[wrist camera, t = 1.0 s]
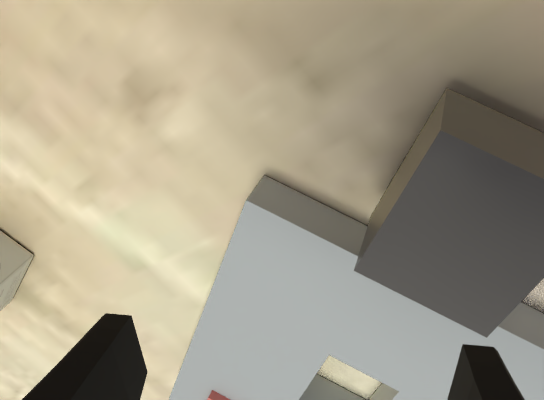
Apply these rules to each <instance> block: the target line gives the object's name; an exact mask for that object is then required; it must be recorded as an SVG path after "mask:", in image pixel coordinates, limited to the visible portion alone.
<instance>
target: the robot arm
mask: <svg viewBox="0 0 544 400" xmlns="http://www.w3.org/2000/svg"><path fill="white" fill-rule="evenodd" d="M146 375H147V369H146V365H145V362H144V358H143V355H142V351H141V348H140V344H139V341H138V337H137V334H136V330H135V327H134V323H133V320H132V316H129V315H118V314H105V315H104V316H102V317H101V319H100V320H99V321H98V322H97V323H96V324H95V325H94V326H93V327H92V328H91V329H90V330H89V331H88V332H87V333H86V334H85V335H84V337H83V338H82V339H81V340H80V341H79V342H78V343H77V344H76V345H75V346H74V347H73V348H72V349H71V350H70V351H69V352H68V353H67V354H66V356H65V357H64V358H63V359H62V360H61V361H60V362H59V363H58V364H57V365H56V366H55V367H54V368H53V369H52V370H51V371H50V372H49V373H48V374H47V375H46V376H45V377H44V378H43V379H42V380H41V381H40V382H39V383H38V384H37V385H36V386H35V387H34V388H33V389H32V390H31V391H30V392H29V393H28V394H27V395H26V396H25V397H24V398H23V399H22V400H140V398H141V394H142V390H143V387H144V383H145V379H146ZM447 400H525V399H524V398H523V396H522V394H521V392H520V391H519V389H518V387H517V386H516V384H515V382H514V380H513V378H512V377H511V375H510V373H509V371H508V369H507V368H506V366H505V364H504V362H503V360H502V358H501V356H500V354H499V353H498V351H497V350H496V349H495V348H494V347H491V346H479V345H467V344H463V345H462V348H461V352H460V355H459V359H458V363H457V366H456V370H455V374H454V377H453V381H452V384H451V388H450V392H449V395H448V399H447Z"/></svg>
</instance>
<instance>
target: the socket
mask: <svg viewBox="0 0 544 400" xmlns="http://www.w3.org/2000/svg"><path fill="white" fill-rule="evenodd" d="M367 227H368V226H366V225H364V224H362V223H360V222H358V221H356V220H354V219H352V218H350V217H348V216H346V215H344V214H342V213H340V212H338V211H336V210H334V209H332V208H330V207H328V206H326V205H324V204H322V203H320V202H318V201H316V200H313V199H311V198H309V197H307V196H305V195H303V194H301V193H299V192H297V191H295V190H293V189H291V188H289V187H287V186H285V185H283V184H281V183H279V182H277V181H275V180H273V179H271V178H269V177H267V176H265V175H264V176H263V178H262V179H261V180H260V182H259V183H258V185H257V186H256V187H255V189H254V190H253V191H252V193H251V194H250V196H249V197H248V198H247V200H246V202H245V204H244V207H243V209H242V212H241V215H240V217H239V220H238V222H237V225H236V227H235V230H234V233H233V235H232V238H231V240H230V243H229V245H228V248H227V251H226V253H225V256H224V258H223V261H222V263H221V266H220V269H219V271H218V274H217V276H216V279H215V282H214V284H213V287H212V289H211V292H210V294H209V297H208V300H207V302H206V305H205V307H204V310H203V312H202V315H201V318H200V320H199V323H198V325H197V328H196V330H195V333H194V336H193V338H192V341H191V343H190V346H189V348H188V351H187V354H186V356H185V359H184V361H183V364H182V366H181V369H180V372H179V374H178V377H177V379H176V382H175V384H174V387H173V390H172V392H171V395H170V397H169V400H365V399H363V398H361V397H360V396H358V395H356V394H354V393H352V392H350V391H348V390H346V389H344V388H342V387H340V386H339V385H337V384H335V383H333V382H331V381H329V380H327V379H325V378H323V377H321V376H320V375H318V374H317V372H318V371H319V369H320V368H321V366H322V365H323V363H324V362H325V360H326V359H327V357H328V356H329V355H330V356H332V357H334V358H336V359H338V360H340V361H341V362H343V363H345V364H347V365H349V366H351V367H353V368H355V369H357V370H359V371H361V372H363V373H365V374H366V375H368V376H370V377H372V378H374V379H376V380H378V381H380V382H382V384H381V385H380V386H379V387H378V389H377V390H376V391H375V392H374V393H373V395H372V396H371V397H370V398H369V400H447V399H448V395H449V392H450V388H451V384H452V381H453V377H454V374H455V370H456V366H457V363H458V359H459V355H460V352H461V348H462V345H463V344H467V345H479V346H491V347H494V348H495V349H496V350H497V351H498V353H499V354H500V356H501V358H502V360H503V362H504V364H505V366H506V368H507V369H508V371H509V373H510V375H511V377H512V378H513V380H514V382H515V384H516V386H517V387H518V389H519V391H520V392H521V394H522V396H523V398H524V399H525V400H544V313H542V312H540V311H538V310H536V309H534V308H532V307H530V306H528V305H526V304H524V303H522V302H520V303H519V304H518V305H517V306H516V308H515V309H514V310H513V311H512V312H511V313H510V314H509V315H508V316H507V317H506V318H505V319H504V320H503V321H502V322H501V323H500V324H499V325H498V326H497V328H496V329H495V330H494V331H493V332H492V333H491V334H490V335H489V336H488V337H487V338H486V337H484V336H482V335H480V334H478V333H476V332H474V331H472V330H470V329H468V328H466V327H464V326H462V325H460V324H458V323H456V322H454V321H452V320H450V319H448V318H446V317H444V316H442V315H440V314H438V313H437V312H435V311H433V310H431V309H429V308H427V307H425V306H423V305H421V304H419V303H417V302H415V301H413V300H411V299H409V298H407V297H405V296H403V295H401V294H399V293H397V292H395V291H393V290H391V289H389V288H387V287H385V286H383V285H381V284H379V283H377V282H375V281H373V280H371V279H369V278H367V277H365V276H363V275H361V274H359V273H357V272H355V271H354V268H355V265H356V262H357V259H358V255H359V252H360V249H361V246H362V243H363V240H364V237H365V233H366V230H367Z"/></svg>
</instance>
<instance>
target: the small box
mask: <svg viewBox="0 0 544 400" xmlns="http://www.w3.org/2000/svg"><path fill="white" fill-rule="evenodd" d="M32 258H33V254H32V253H30V252H29V251H27V250H26V249H25V248H23V247H22V246H21V245H19V244H18V243H17V242H15V241H14V240H13V239H11V238H10V237H8V236H7V235H6V234H4V233H3V232H2V231H0V311H1V310H2V309H3V308H4V307H5V306H6V305H7V304H8V303H10V302H11V300H12V299H13V297H14V295H15V293H16V291H17V289H18V287H19V285H20V283H21V280H22V278H23V276H24V275H25V273H26V271H27V268H28V266H29V264H30V262H31V260H32Z"/></svg>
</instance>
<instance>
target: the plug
mask: <svg viewBox="0 0 544 400" xmlns="http://www.w3.org/2000/svg"><path fill="white" fill-rule="evenodd" d="M354 271H355V272H357V273H359V274H361V275H363V276H365V277H367V278H369V279H371V280H373V281H375V282H377V283H379V284H381V285H383V286H385V287H387V288H389V289H391V290H393V291H395V292H397V293H399V294H401V295H403V296H405V297H407V298H409V299H411V300H413V301H415V302H417V303H419V304H421V305H423V306H425V307H427V308H429V309H431V310H433V311H435V312H437V313H438V314H440V315H442V316H444V317H446V318H448V319H450V320H452V321H454V322H456V323H458V324H460V325H462V326H464V327H466V328H468V329H470V330H472V331H474V332H476V333H478V334H480V335H482V336H484V337H486V338H487V337H488V336H489V335H490V334H491V333H492V332H493V331H494V330H495V329H496V328H497V326H498V325H499V324H500V323H501V322H502V321H503V320H504V319H505V318H506V317H507V316H508V315H509V314H510V313H511V312H512V311H513V310H514V309H515V308H516V306H517V305H518V304H519V303H520V302H521V301H522V300H523V299H524V298H525V297H526V296H527V295H528V294H529V293H530V292H531V291H532V290H533V289H534V288H535V287H536V285H537V284H538V283H539V282H540V281H541V280H542V279H543V278H544V133H543V132H541V131H538V130H536V129H534V128H532V127H530V126H528V125H526V124H523V123H521V122H519V121H517V120H515V119H513V118H510V117H508V116H506V115H504V114H502V113H500V112H498V111H495V110H493V109H491V108H489V107H487V106H485V105H482V104H480V103H478V102H476V101H474V100H472V99H470V98H467V97H465V96H463V95H461V94H459V93H457V92H455V91H452V90H450V89H448V88H446V90H445V92H444V93H443V95H442V97H441V98H440V100H439V102H438V103H437V105H436V107H435V108H434V110H433V112H432V114H431V115H430V117H429V119H428V120H427V122H426V124H425V125H424V127H423V129H422V130H421V132H420V134H419V136H418V137H417V139H416V141H415V142H414V144H413V146H412V147H411V149H410V151H409V152H408V154H407V156H406V157H405V159H404V161H403V163H402V164H401V166H400V168H399V169H398V171H397V173H396V174H395V176H394V178H393V179H392V181H391V183H390V185H389V186H388V188H387V190H386V191H385V193H384V195H383V196H382V198H381V200H380V201H379V203H378V205H377V207H376V208H375V210H374V212H373V213H372V215H371V218H370V221H369V224H368V227H367V230H366V233H365V237H364V240H363V243H362V246H361V249H360V252H359V255H358V259H357V262H356V265H355V268H354Z"/></svg>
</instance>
